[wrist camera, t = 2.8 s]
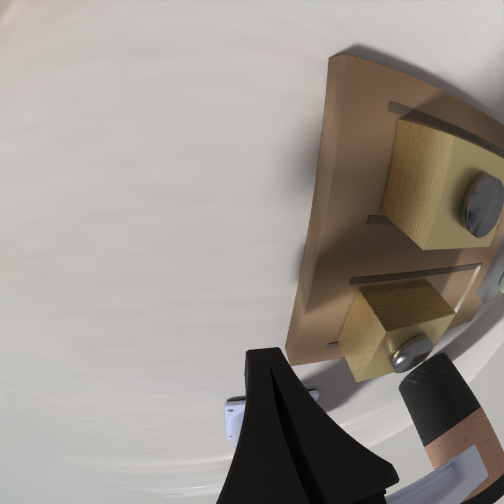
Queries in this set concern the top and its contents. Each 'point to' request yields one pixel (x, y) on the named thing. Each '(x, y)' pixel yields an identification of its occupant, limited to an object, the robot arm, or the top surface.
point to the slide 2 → (393, 328)
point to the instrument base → (380, 206)
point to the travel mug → (453, 423)
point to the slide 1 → (443, 189)
